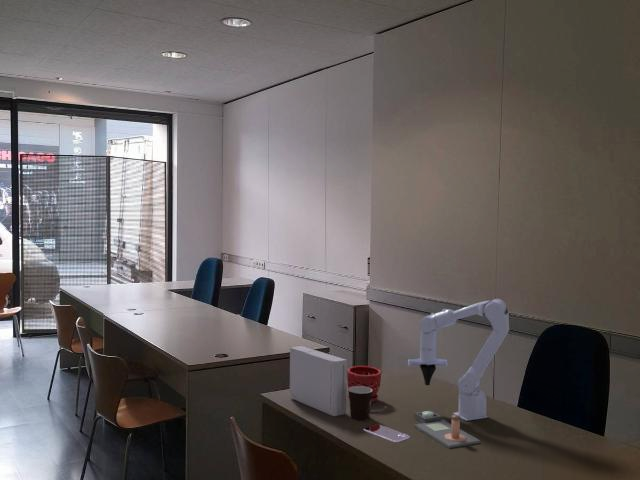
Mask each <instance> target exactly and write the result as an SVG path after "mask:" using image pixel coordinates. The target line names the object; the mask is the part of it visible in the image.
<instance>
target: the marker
mask: <svg viewBox="0 0 640 480" xmlns="http://www.w3.org/2000/svg"><path fill="white" fill-rule="evenodd" d="M451 424H452V426H451V437H452V438H454V439H458V438H459V436H460V430H461V427H460V426H461V418H460V416H459V415H454V414H452V415H451Z"/></svg>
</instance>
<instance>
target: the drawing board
mask: <svg viewBox="0 0 640 480" xmlns="http://www.w3.org/2000/svg"><path fill="white" fill-rule="evenodd" d="M451 426H452V423H449V422H448V421H446V420H443V419H442V421H435V422H428V423H421V422H420V423H418V424H417V423H416V424H414V427H415V428H416V429H417V430H419V431H420V432H422V433H424V434H426V435H427V436H429V437H430V438H431V439H433V440H435V441H436V442H438V443H440V444H442V445H443V446H444V447H446V448H447V449H453V448H458V447H464V446H465V447H466V446H470V445H475V444H480V443H481V440H480V439H479V438H477V437H474V435H471V434H470V433H468V432H465V431H464V430H462V429H460V436H459V438H458V439H454V438H452V437H451Z"/></svg>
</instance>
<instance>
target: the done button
mask: <svg viewBox="0 0 640 480" xmlns="http://www.w3.org/2000/svg"><path fill="white" fill-rule="evenodd" d="M429 411H430V410H424V412H423V411H421V412H422V416H424V417H425V418H427V417H434V413H433V412H434V411H433V412H429Z"/></svg>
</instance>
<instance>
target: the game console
mask: <svg viewBox="0 0 640 480" xmlns="http://www.w3.org/2000/svg"><path fill="white" fill-rule="evenodd" d="M347 366H348V360H347V359H346V358H342V357H339V356H335V355H332V354H330V353H329V354H328V353H327V352H322V351H319V350H316V349H313V348H310V347H308V346H304V345H297V346H291V347H289V393H290V395H291V398H292V400H295V401H296V402H299V403H301V404H304V405H305V406H309V407H311V408H312V409H313V408H314V409H316V410H318V411H320V412H323V413H325V414H328V415H330V416H332V417H337V416H342V415H346V414H347V383H348V381H347V371H348V367H347Z"/></svg>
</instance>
